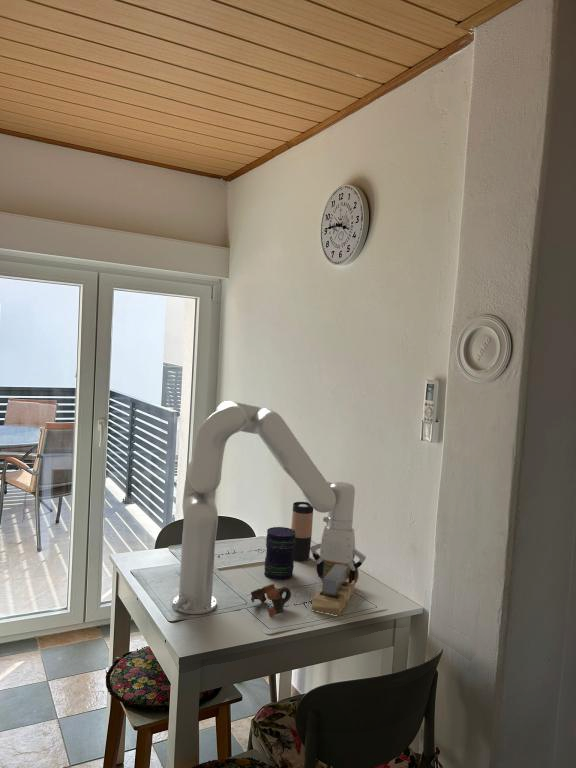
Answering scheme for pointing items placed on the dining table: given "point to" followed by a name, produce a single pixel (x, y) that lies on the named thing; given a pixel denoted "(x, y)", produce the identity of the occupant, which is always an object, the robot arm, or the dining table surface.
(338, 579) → the clip
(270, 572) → the storage jar
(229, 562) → the dining table surface
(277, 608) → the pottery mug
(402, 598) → the dining table surface
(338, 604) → the light brown long block
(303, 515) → the travel mug
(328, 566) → the tin
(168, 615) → the dining table surface
